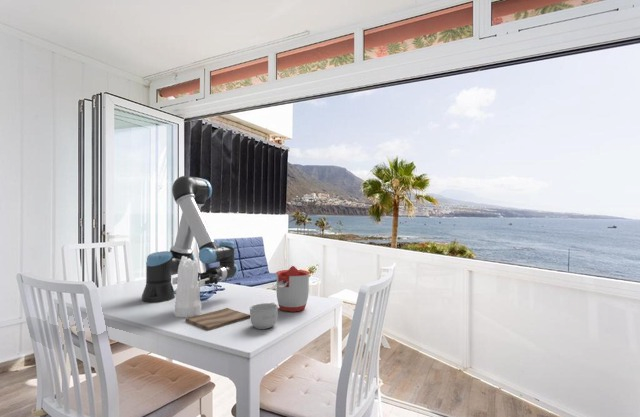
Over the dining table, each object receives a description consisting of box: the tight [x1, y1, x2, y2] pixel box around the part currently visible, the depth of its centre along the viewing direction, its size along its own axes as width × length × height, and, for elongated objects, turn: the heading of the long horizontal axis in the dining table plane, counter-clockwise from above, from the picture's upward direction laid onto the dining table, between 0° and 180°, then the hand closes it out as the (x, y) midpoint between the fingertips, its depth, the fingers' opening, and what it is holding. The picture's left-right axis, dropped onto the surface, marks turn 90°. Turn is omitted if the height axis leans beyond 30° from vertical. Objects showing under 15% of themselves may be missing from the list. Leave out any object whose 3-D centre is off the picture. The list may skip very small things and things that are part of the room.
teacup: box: [249, 302, 278, 330], centre depth 131 cm, size 14×11×8 cm
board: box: [185, 307, 250, 331], centre depth 137 cm, size 16×20×1 cm
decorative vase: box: [173, 256, 202, 319], centre depth 145 cm, size 11×11×25 cm
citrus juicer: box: [275, 265, 310, 313], centre depth 154 cm, size 16×17×20 cm
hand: (185, 282), depth 143 cm, fingers open, 13 cm apart
